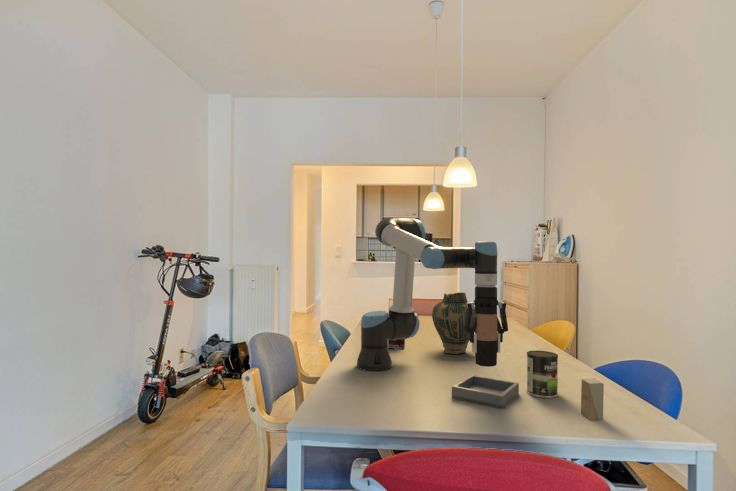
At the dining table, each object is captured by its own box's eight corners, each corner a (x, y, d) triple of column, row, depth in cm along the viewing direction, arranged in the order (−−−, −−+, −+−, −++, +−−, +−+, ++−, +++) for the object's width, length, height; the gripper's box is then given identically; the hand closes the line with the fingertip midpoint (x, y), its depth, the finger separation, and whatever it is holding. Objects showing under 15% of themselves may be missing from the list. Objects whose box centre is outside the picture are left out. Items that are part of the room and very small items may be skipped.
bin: (451, 398, 149) (451, 386, 149) (471, 385, 164) (471, 374, 164) (502, 409, 139) (502, 396, 139) (518, 394, 153) (518, 383, 153)
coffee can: (564, 395, 153) (564, 355, 153) (543, 400, 148) (543, 358, 148) (540, 387, 162) (540, 349, 162) (520, 391, 157) (520, 351, 157)
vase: (482, 358, 205) (482, 294, 205) (435, 357, 205) (435, 293, 206) (472, 347, 227) (472, 289, 228) (429, 347, 227) (429, 289, 228)
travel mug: (482, 367, 147) (482, 307, 147) (470, 362, 154) (470, 305, 154) (502, 365, 149) (502, 306, 149) (489, 360, 156) (489, 304, 156)
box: (580, 414, 135) (580, 378, 136) (593, 413, 136) (593, 377, 136) (590, 420, 130) (590, 383, 130) (604, 420, 131) (604, 382, 131)
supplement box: (388, 348, 223) (388, 317, 223) (388, 346, 228) (388, 316, 228) (405, 349, 222) (405, 318, 222) (405, 347, 227) (405, 316, 227)
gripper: (460, 286, 147) (460, 355, 147) (519, 286, 149) (519, 354, 149) (454, 285, 155) (454, 349, 154) (510, 285, 156) (510, 349, 156)
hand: (486, 351), depth 151 cm, fingers closed on travel mug, 8 cm apart
